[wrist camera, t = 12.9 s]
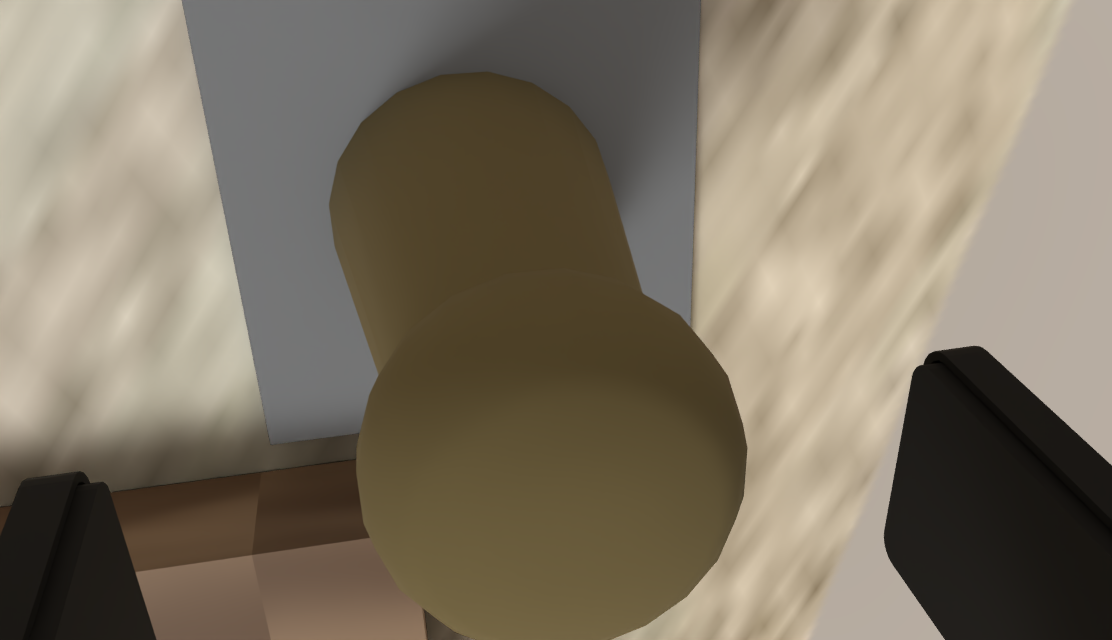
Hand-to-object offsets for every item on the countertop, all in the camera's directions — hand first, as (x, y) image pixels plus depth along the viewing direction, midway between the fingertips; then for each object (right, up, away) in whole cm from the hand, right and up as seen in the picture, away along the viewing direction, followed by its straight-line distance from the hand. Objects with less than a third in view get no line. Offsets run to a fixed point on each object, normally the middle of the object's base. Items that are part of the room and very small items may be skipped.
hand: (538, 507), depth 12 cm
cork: (-2, +5, +10) cm, 11 cm away
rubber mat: (-2, +4, +10) cm, 12 cm away
